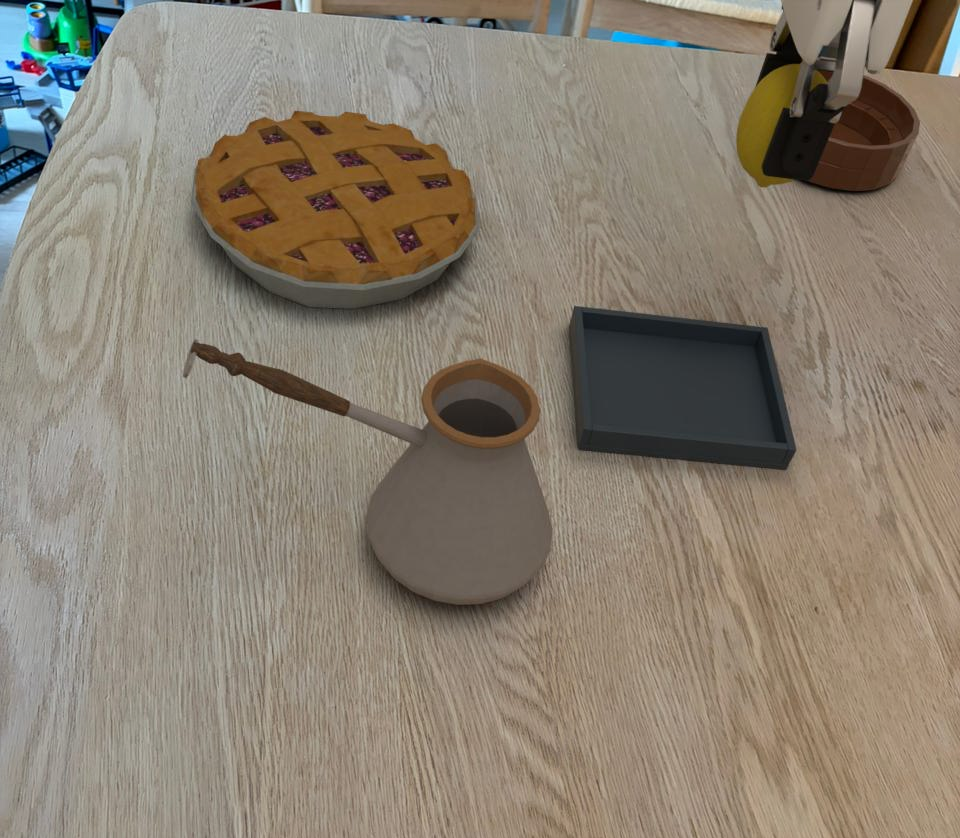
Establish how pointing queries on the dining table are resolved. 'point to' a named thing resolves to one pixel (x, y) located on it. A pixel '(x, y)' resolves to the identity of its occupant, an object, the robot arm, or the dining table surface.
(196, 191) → the pie
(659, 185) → the dining table surface
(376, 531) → the coffee pot
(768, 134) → the lemon
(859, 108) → the bowl
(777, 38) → the robot arm
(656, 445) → the tray
